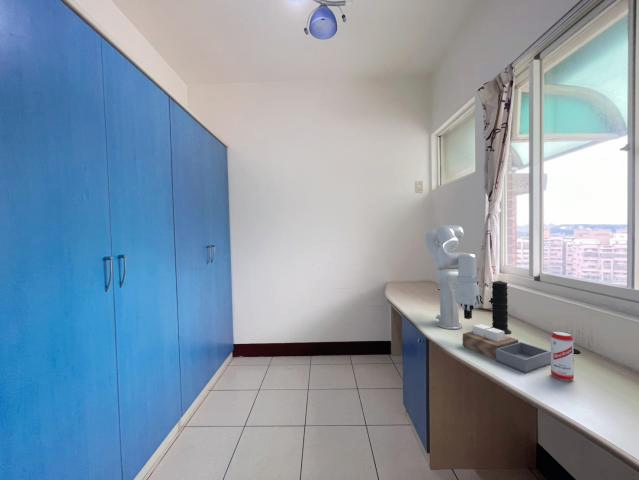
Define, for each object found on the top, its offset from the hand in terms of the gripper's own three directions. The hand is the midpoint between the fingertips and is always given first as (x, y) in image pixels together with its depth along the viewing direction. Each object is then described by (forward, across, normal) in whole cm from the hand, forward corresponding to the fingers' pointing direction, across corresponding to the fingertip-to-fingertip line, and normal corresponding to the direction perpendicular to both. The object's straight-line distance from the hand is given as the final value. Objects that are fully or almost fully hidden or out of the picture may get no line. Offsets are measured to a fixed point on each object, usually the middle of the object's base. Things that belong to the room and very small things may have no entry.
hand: (468, 318), depth 135 cm
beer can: (+13, +37, 0) cm, 39 cm away
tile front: (+6, +13, 0) cm, 14 cm away
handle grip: (+11, -3, +28) cm, 30 cm away
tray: (+12, +24, 0) cm, 27 cm away
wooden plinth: (+12, +10, 0) cm, 15 cm away
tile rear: (+6, +7, 0) cm, 9 cm away
